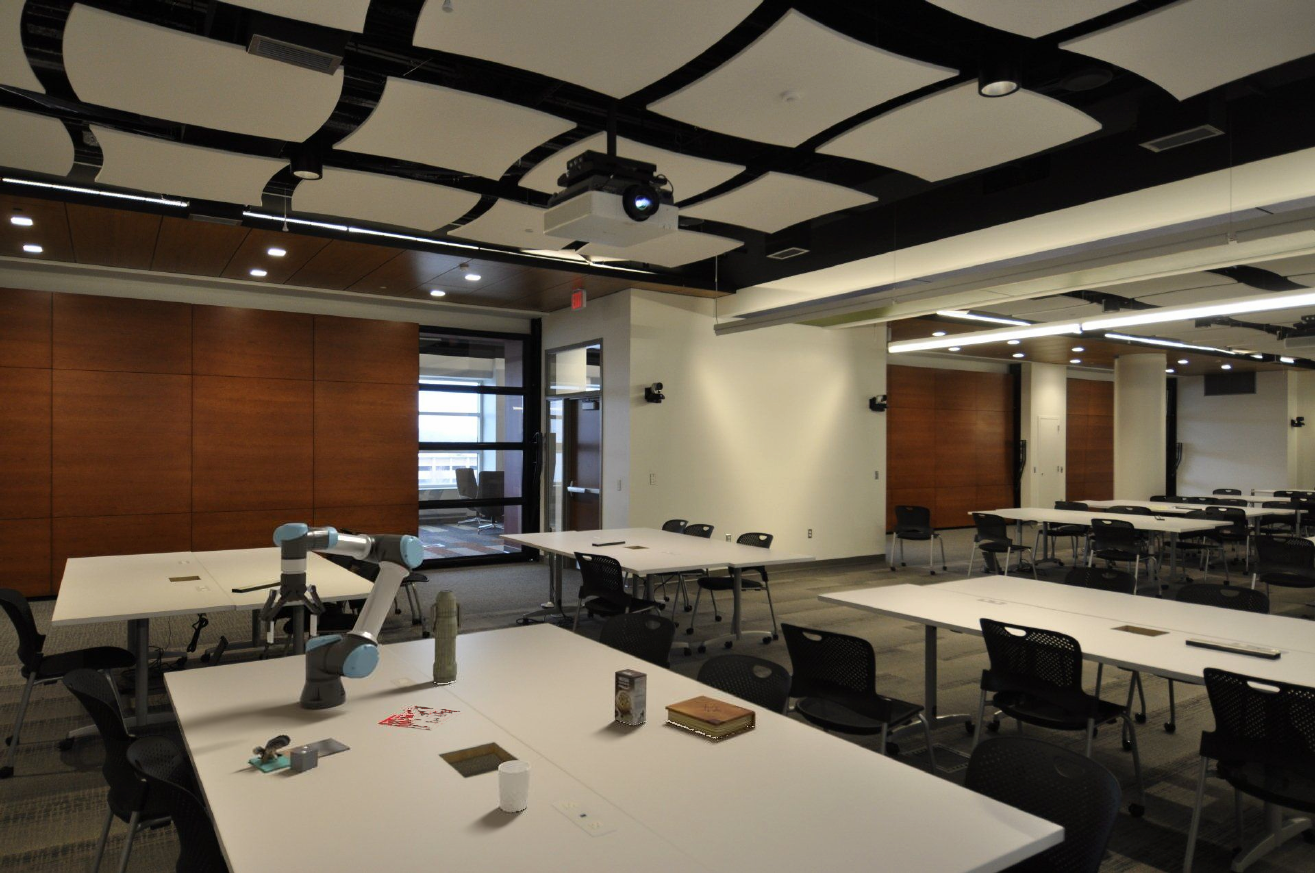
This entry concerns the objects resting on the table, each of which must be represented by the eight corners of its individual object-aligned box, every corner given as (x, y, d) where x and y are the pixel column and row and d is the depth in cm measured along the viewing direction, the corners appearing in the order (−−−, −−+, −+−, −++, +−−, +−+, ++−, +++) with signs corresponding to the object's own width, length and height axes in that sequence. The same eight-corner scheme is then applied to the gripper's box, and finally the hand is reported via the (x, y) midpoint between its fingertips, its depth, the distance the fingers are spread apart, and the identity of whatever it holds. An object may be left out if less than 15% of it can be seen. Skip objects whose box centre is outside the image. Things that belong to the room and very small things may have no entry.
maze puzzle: (464, 712, 271) (464, 710, 271) (431, 731, 252) (431, 729, 252) (414, 706, 277) (414, 704, 277) (378, 725, 257) (378, 722, 257)
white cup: (499, 800, 200) (500, 760, 200) (531, 799, 201) (531, 759, 201) (496, 814, 192) (496, 772, 192) (528, 813, 193) (529, 771, 193)
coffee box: (613, 720, 262) (614, 671, 262) (627, 716, 266) (627, 667, 267) (633, 727, 256) (633, 676, 256) (647, 722, 260) (647, 673, 261)
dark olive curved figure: (280, 762, 220) (297, 744, 229) (265, 742, 219) (282, 725, 228) (259, 775, 221) (277, 757, 230) (244, 755, 220) (262, 738, 229)
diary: (755, 728, 257) (755, 710, 257) (716, 742, 244) (717, 723, 244) (703, 711, 274) (704, 694, 274) (665, 723, 261) (665, 705, 261)
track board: (330, 739, 243) (330, 737, 243) (349, 749, 235) (350, 747, 235) (248, 761, 225) (248, 759, 225) (266, 772, 217) (266, 770, 217)
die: (305, 763, 224) (305, 745, 224) (317, 766, 222) (318, 748, 222) (290, 769, 219) (290, 750, 219) (302, 772, 217) (303, 753, 217)
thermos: (464, 681, 307) (465, 590, 308) (435, 687, 299) (436, 594, 300) (453, 676, 314) (455, 588, 315) (425, 681, 306) (426, 591, 307)
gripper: (326, 567, 265) (325, 630, 264) (247, 574, 246) (246, 643, 245) (336, 569, 260) (335, 634, 259) (257, 577, 241) (256, 647, 240)
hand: (292, 638), depth 252 cm, fingers open, 13 cm apart
